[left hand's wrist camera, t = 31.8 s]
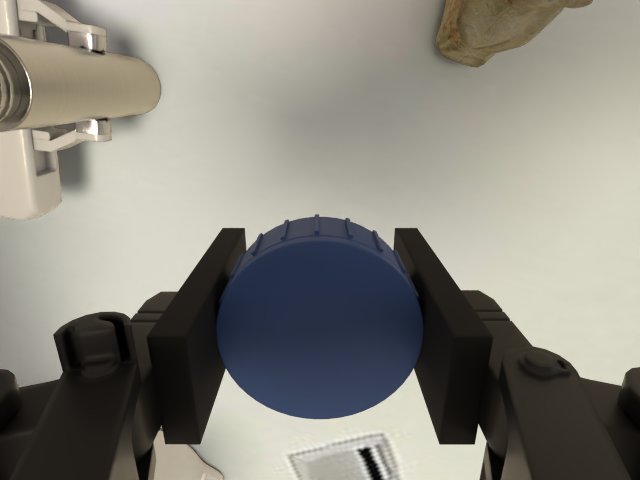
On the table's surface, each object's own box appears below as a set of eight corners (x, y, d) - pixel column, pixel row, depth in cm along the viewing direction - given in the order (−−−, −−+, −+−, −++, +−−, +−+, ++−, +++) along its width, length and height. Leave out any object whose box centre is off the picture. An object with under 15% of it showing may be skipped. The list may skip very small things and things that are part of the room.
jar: (170, 102, 34) (26, 114, 18) (123, 122, 35) (-58, 151, 18) (144, 47, 33) (-39, 3, 16) (96, 69, 33) (-130, 47, 17)
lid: (272, 182, 11) (262, 200, 9) (444, 261, 11) (467, 293, 10) (204, 336, 12) (183, 379, 11) (358, 396, 13) (364, 445, 11)
